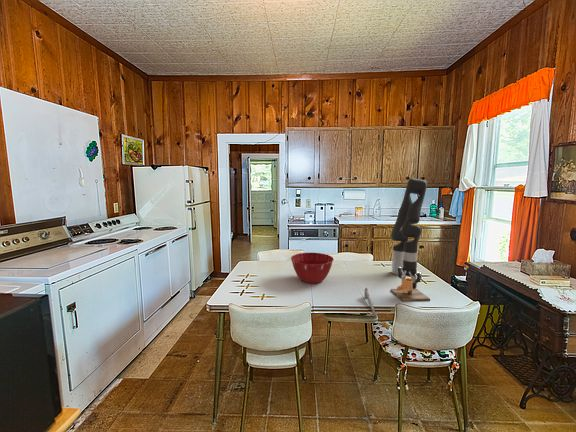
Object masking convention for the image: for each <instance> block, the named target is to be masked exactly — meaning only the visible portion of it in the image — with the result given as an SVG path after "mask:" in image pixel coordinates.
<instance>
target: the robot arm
mask: <svg viewBox="0 0 576 432" xmlns="http://www.w3.org/2000/svg"><path fill="white" fill-rule="evenodd" d="M427 187H428V183H427V181H426V180H423V179H420V178H419V179H418V178H414V177H412V178H409V180H408V181H407V184H406V187H405V190H404V195H403V199H402V202H401V205H400V207H399V211H398V213H397V214H398V215H397V218H396V220H395V222H394V225H393V227H392V230H391V233H390V238H391V240H392V241H394V242H398V243H397V244H394V245H393V247H392V259H391V273H392V274H393V275H395V276H398V278H399V279H401V280H402V279H404V278H407V277H408V278H411V279H412V280H413V289H415V288H416V289H417V288H418V287H417V285H418V284H417V283H420V282H421V279H422V274H423V272H421V271H420V272H419V271H418V270H417V269H418V267H417V266H418V244H419V240H420V237H421V235H422V228H421V226H420V225H417V224H419V223H420V219H421V211H422V206H423V203H424V201H425V200H424V199H425V195H426V192H427ZM411 194H413V195H418V197H417V199H416V200H415V201H413V200H412V197H411ZM409 238H414V239H412V240H409Z"/></svg>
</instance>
